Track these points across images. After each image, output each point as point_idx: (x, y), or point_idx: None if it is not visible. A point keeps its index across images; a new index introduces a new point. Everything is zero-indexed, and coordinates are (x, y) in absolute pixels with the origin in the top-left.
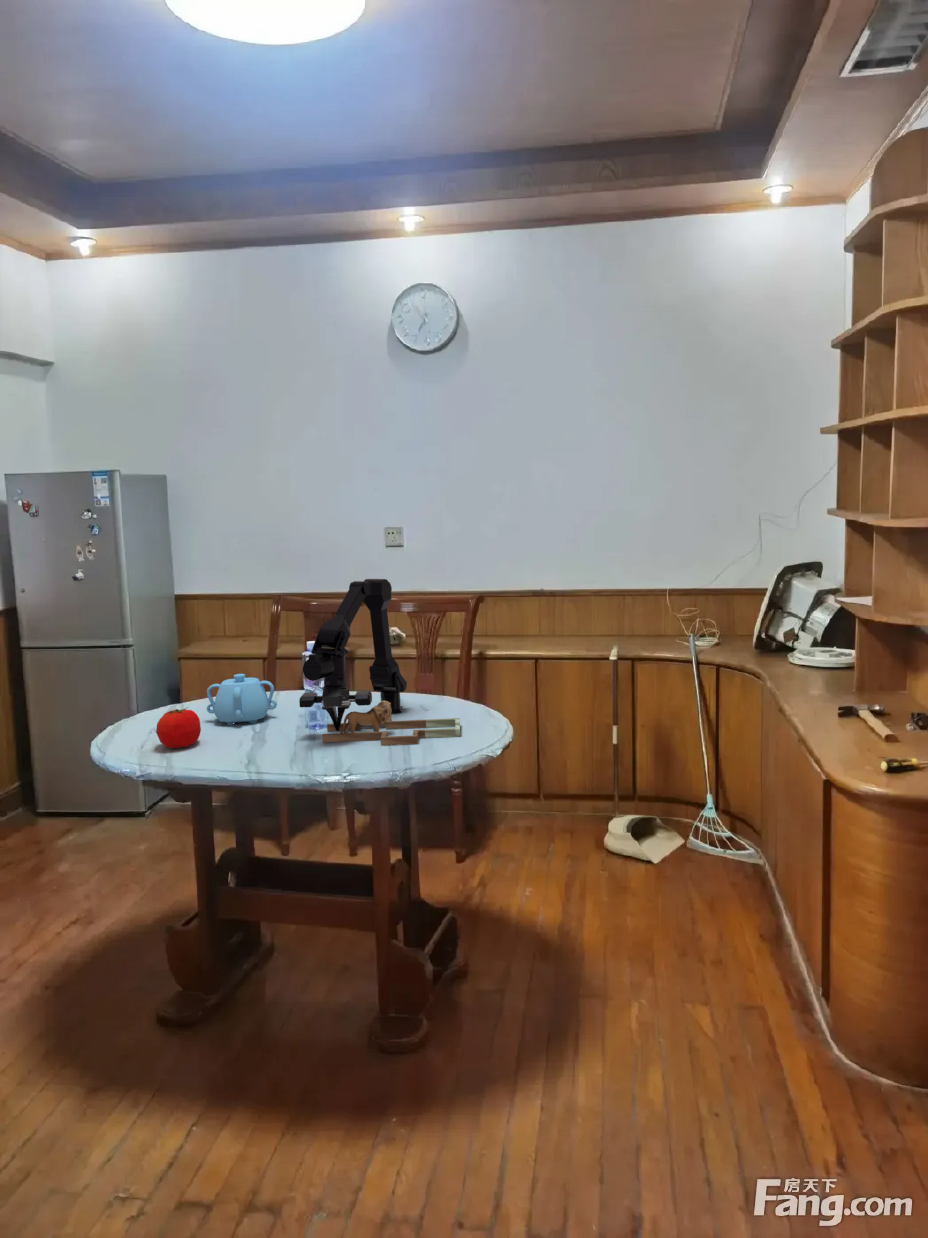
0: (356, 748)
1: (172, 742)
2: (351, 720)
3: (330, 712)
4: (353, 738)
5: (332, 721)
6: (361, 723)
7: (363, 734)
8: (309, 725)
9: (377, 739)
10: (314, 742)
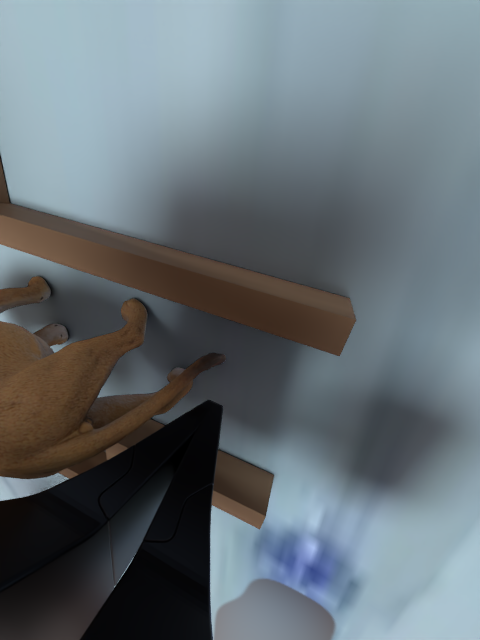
0: (109, 7)
1: None
2: (55, 376)
3: (175, 587)
4: (131, 243)
5: (215, 467)
6: (31, 344)
7: (52, 227)
8: (335, 593)
9: (25, 209)
10: (406, 333)
